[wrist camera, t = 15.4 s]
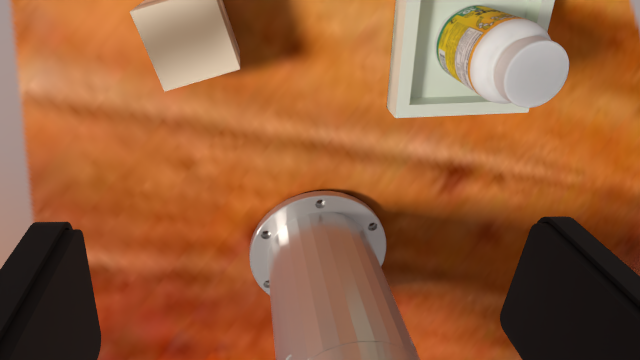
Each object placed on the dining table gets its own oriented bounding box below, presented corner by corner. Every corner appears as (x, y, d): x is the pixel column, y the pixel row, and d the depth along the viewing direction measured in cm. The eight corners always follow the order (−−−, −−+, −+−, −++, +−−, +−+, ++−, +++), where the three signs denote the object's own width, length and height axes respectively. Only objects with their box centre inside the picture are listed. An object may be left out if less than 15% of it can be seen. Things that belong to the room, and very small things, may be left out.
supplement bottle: (421, 65, 36) (476, 106, 27) (450, -7, 34) (519, 15, 25) (481, 83, 37) (551, 127, 29) (512, 15, 35) (598, 42, 27)
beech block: (239, 51, 34) (240, 69, 30) (174, 70, 34) (164, 91, 30) (215, -21, 32) (212, -13, 27) (144, 0, 32) (129, 11, 27)
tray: (512, 102, 39) (528, 112, 37) (386, 107, 38) (395, 117, 36) (544, -42, 34) (564, -40, 32) (399, -43, 33) (410, -41, 31)
